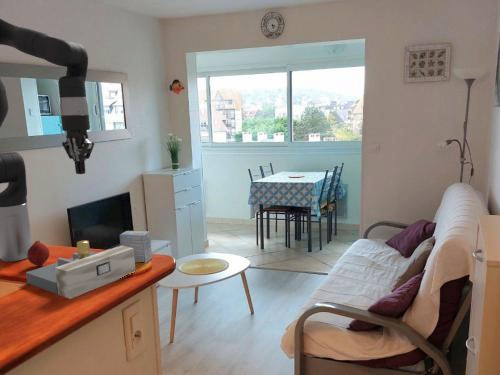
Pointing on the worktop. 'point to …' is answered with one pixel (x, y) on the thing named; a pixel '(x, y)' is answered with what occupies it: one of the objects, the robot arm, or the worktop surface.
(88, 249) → the bolt
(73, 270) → the block
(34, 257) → the onion
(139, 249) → the medicine box
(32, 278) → the door leaf
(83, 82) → the robot arm
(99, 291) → the worktop surface
